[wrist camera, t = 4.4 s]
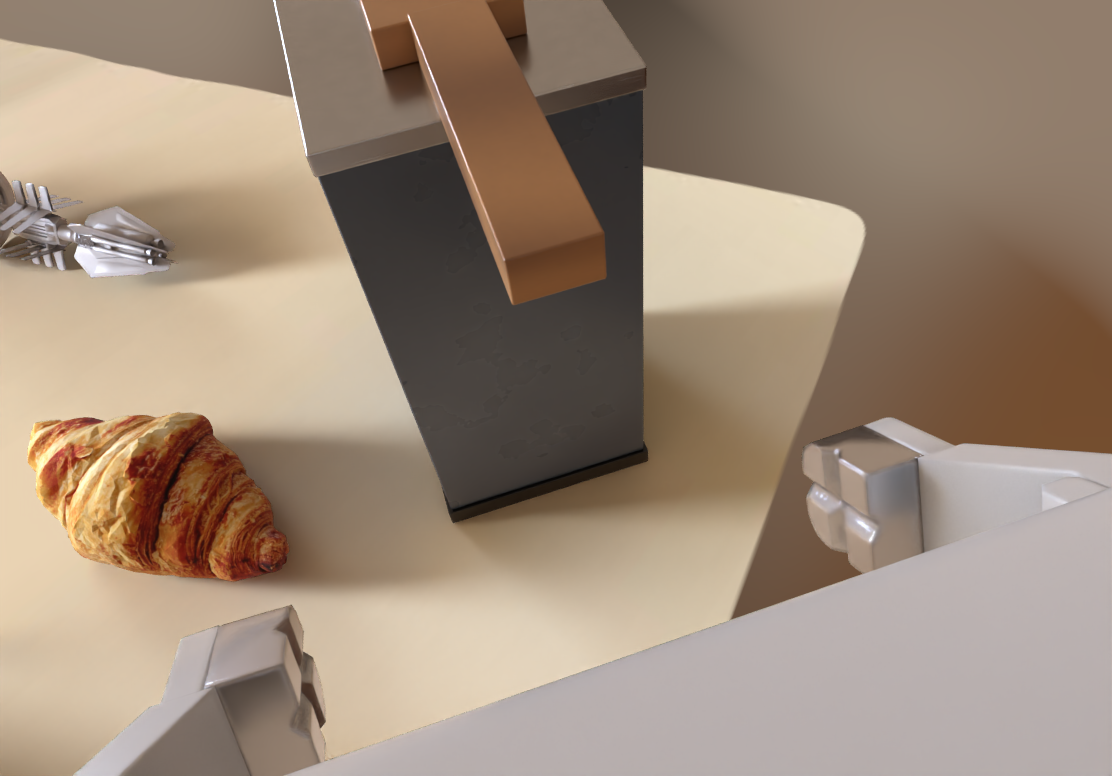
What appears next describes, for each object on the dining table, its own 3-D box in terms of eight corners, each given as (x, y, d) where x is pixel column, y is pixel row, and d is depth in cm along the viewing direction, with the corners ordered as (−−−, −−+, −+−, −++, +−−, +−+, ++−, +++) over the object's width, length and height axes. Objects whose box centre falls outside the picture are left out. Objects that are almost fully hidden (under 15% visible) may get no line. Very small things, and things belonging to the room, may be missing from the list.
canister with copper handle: (452, 523, 50) (303, 158, 28) (411, 368, 57) (266, -19, 35) (664, 456, 51) (679, 58, 29) (598, 313, 58) (570, -92, 37)
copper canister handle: (654, 265, 24) (654, 217, 22) (464, 321, 23) (451, 276, 22) (476, -61, 36) (469, -106, 34) (348, -30, 35) (335, -74, 34)
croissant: (49, 507, 57) (-69, 501, 49) (105, 368, 57) (-4, 343, 50) (291, 633, 50) (196, 650, 42) (352, 474, 50) (269, 462, 43)
